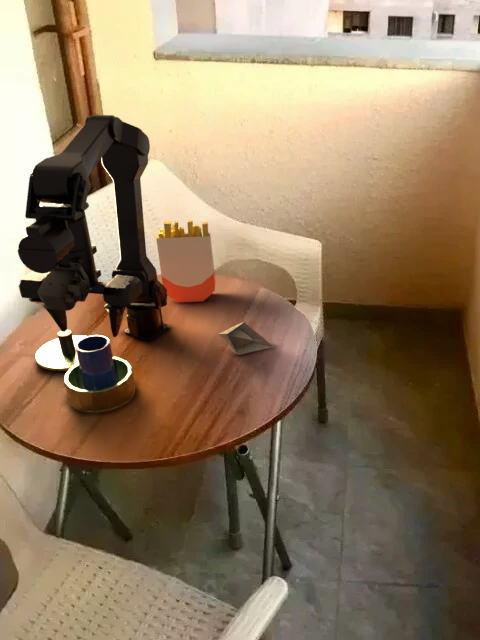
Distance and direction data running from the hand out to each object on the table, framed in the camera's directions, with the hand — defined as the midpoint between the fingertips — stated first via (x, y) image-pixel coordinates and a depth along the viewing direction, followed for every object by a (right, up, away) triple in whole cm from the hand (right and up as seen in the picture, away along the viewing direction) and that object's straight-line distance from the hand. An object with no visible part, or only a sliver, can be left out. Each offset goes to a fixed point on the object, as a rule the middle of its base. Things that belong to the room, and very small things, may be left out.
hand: (90, 333), depth 120 cm
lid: (-9, -3, +17) cm, 20 cm away
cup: (0, -10, +7) cm, 12 cm away
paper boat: (+24, -3, +18) cm, 30 cm away
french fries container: (+10, +10, +38) cm, 41 cm away
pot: (0, -11, +7) cm, 12 cm away
